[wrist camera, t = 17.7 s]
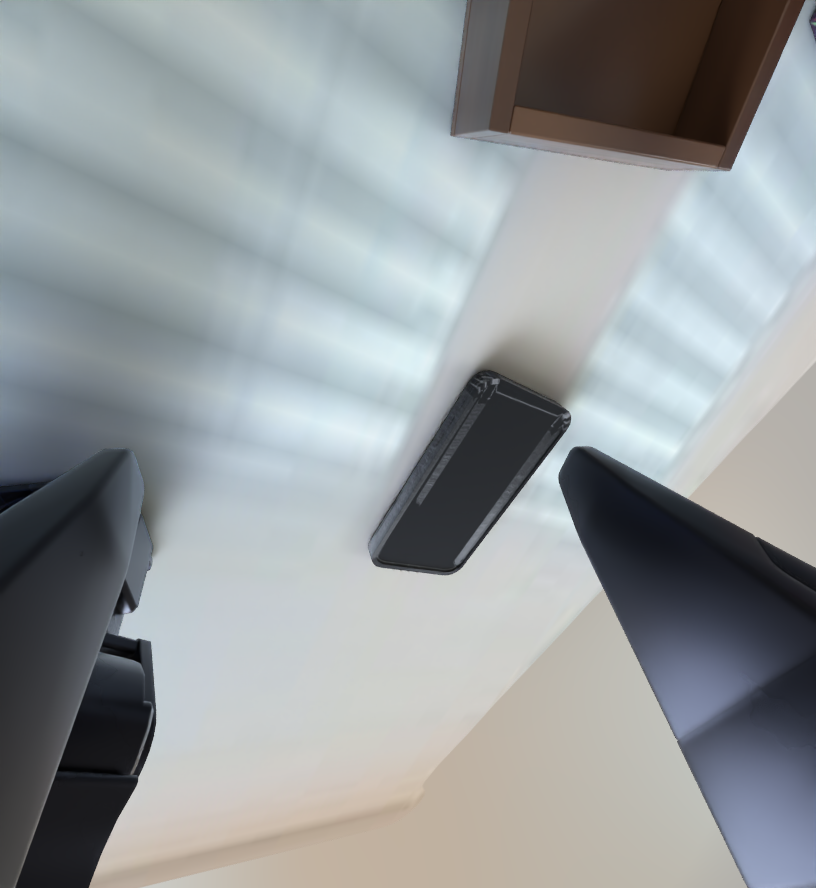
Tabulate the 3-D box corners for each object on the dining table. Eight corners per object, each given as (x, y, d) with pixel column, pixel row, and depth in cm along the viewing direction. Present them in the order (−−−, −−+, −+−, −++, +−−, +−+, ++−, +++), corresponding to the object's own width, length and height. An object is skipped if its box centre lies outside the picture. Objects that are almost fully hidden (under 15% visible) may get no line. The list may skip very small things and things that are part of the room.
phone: (578, 415, 26) (455, 577, 31) (567, 406, 26) (449, 565, 32) (486, 371, 22) (364, 565, 27) (477, 363, 22) (361, 553, 28)
